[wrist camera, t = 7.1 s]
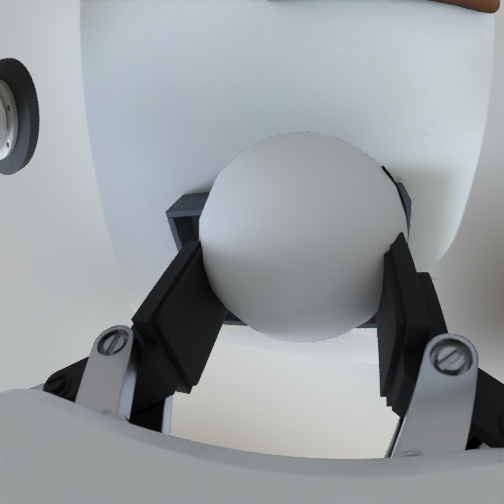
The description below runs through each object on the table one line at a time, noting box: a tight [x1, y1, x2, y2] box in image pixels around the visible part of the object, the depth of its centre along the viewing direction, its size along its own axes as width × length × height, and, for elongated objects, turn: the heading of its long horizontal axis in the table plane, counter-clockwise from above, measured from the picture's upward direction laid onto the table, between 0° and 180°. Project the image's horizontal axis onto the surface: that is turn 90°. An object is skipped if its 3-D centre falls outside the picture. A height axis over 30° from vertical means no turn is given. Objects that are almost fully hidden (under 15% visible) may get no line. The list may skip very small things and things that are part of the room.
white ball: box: [199, 131, 456, 342], centre depth 11 cm, size 10×7×7 cm
